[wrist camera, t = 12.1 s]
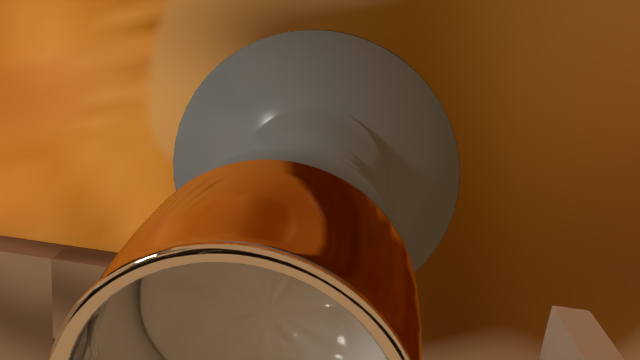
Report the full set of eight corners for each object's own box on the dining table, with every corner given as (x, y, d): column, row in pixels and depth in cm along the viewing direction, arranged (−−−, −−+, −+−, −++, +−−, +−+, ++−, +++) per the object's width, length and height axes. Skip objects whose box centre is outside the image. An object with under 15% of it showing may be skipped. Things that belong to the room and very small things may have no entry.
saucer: (184, 12, 23) (179, 12, 23) (483, 48, 23) (485, 49, 22) (172, 280, 27) (168, 286, 26) (432, 319, 26) (432, 326, 26)
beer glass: (201, 138, 24) (-48, 328, 10) (353, 65, 23) (324, 159, 8) (277, 278, 26) (159, 621, 11) (424, 217, 24) (502, 518, 10)
